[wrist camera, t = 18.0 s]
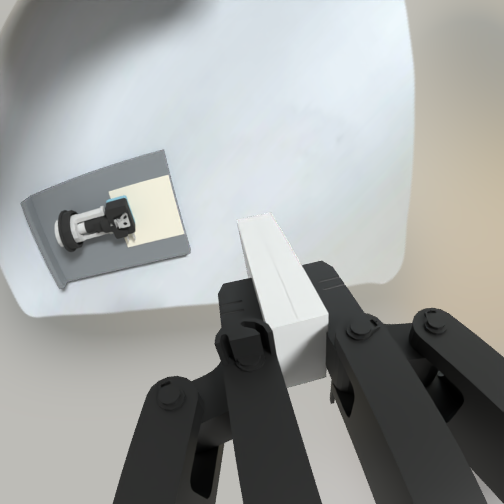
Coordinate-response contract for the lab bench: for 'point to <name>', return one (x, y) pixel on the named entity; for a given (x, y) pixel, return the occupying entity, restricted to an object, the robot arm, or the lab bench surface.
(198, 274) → the lab bench surface
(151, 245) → the grey lipped board
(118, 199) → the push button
